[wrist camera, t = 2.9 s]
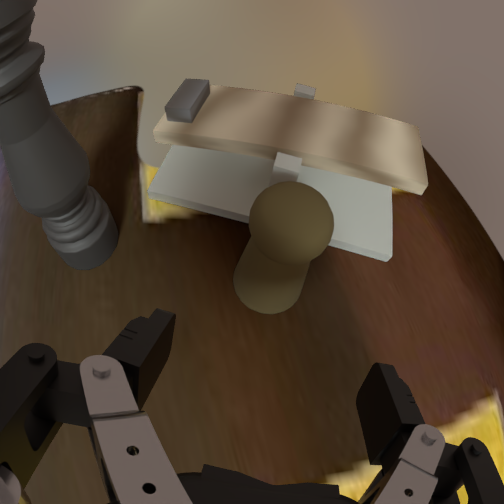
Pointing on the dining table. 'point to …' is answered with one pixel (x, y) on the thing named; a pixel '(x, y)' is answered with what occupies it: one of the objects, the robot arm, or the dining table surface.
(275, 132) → the beam
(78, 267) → the candle holder
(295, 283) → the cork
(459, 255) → the dining table surface
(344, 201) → the beam stand
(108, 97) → the dining table surface
